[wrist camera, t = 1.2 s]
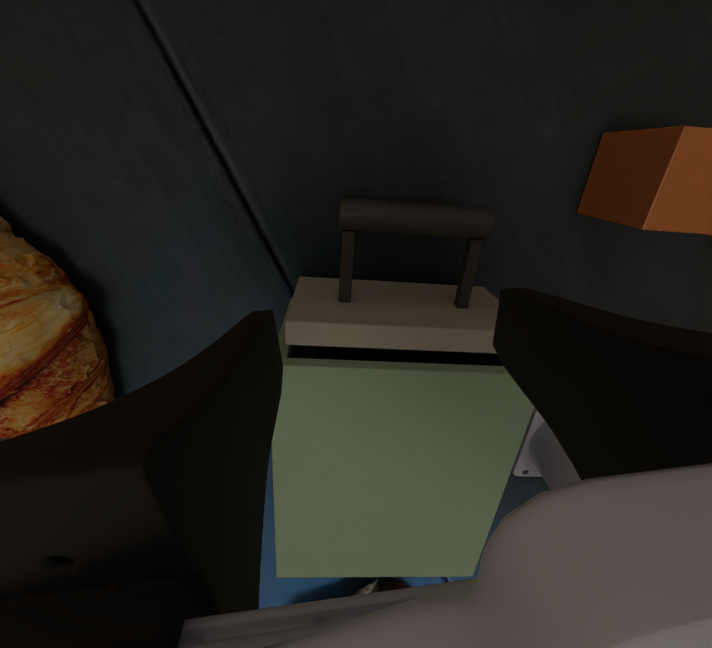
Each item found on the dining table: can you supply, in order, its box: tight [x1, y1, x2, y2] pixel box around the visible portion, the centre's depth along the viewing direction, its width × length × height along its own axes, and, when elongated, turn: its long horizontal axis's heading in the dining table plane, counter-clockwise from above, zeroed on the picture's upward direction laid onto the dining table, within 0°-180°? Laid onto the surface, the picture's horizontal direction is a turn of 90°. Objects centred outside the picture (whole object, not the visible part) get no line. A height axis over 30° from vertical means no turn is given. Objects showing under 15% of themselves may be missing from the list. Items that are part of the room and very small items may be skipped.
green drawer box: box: [272, 298, 534, 578], centre depth 22 cm, size 15×12×8 cm
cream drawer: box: [285, 197, 499, 366], centre depth 20 cm, size 19×11×6 cm, turn 176°
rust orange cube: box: [577, 126, 712, 235], centre depth 18 cm, size 4×4×5 cm
